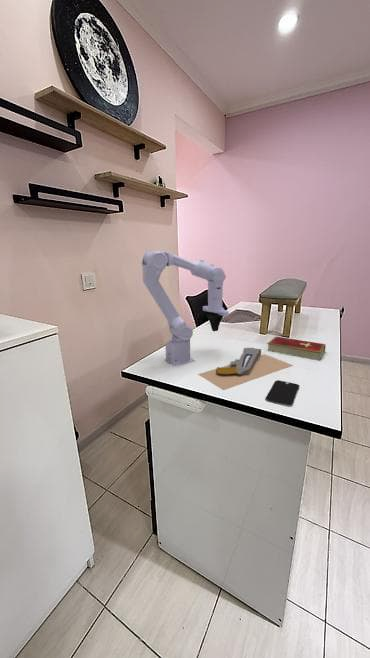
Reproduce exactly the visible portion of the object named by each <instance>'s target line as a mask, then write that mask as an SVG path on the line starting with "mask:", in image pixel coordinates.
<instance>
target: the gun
mask: <svg viewBox="0 0 370 658" xmlns="http://www.w3.org/2000/svg"><path fill="white" fill-rule="evenodd" d="M260 355H262V349H260V348H256V347H244V348H243V350H242V354H241V355H240V357H239V359H238V358H237V359H235V360H232V361H230V362H229V364H228V365H229V367H226V368H221V367H222V366H220V367H219V366H217V367H216V368H215V369H216V373H217V374H240V375H243V374H246V375H249V374H250V372H251V370H252V368H253V367H254V365H255V363H256V361H257V360H258V359H259V356H260Z"/></svg>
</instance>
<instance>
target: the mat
mask: <svg viewBox="0 0 370 658" xmlns="http://www.w3.org/2000/svg"><path fill="white" fill-rule="evenodd" d="M229 365H230V364H227V365H224V366H220V367H221V368H226V367H229ZM293 366H294V365H293V364H291V363H288V362H286V361H283V360H281V359H278V358H275V357H272V356H269V355H267V354H265V353H264V354H261V355H260V356H259V359H258V360H257V361H256V363H255V365H254V367H253V368H252V370H251V372H250V374H249V375H246V374H243V375H240V374H217V373H216V369H217V368H213V369H211V370H207V371H204V372H200V373H198V374H197V375H198V376H200V377H201V378H204V379H205V380H206V381H208V382H210V383H211V384H213V385H214V386H216V387H218V388H219V389H220V390H223V391H225V390H228V389H231V388H233V387H236V386H240V385H242V384H245V383H247V382H250V381H254V380H256V379H260V378H261V377H265V376H267V375H271V374H273V373H275V372H279V371H281V370H284V369H287V368H290V367H293Z"/></svg>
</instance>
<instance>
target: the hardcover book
mask: <svg viewBox="0 0 370 658" xmlns="http://www.w3.org/2000/svg"><path fill="white" fill-rule="evenodd" d="M266 344H267V345H268V347H267V350H268V352H273V353H279V354H284V355H287V356H289V355H290V356H294V357H299V358H304V359H310V360H314V361H319V360H320V359H321V357H322V355H323V354H324V353H325V352H326V344H325V343H321V342H314V341H308V340H307V341H306V340H303V339H301V340H300V339H296V338H295V339H294V338H288V337H283V336H277V335H276V336H275V337H273V338H272V339H271V340H269V341H268V342H267V343H266Z"/></svg>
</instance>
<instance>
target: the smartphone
mask: <svg viewBox="0 0 370 658" xmlns="http://www.w3.org/2000/svg"><path fill="white" fill-rule="evenodd" d="M299 389H300V385H299V384H297V383H293V382H289V381H284V380H280V379H279V380H275V381H274V383H273V385H272V386H271V388H270V389H269V390H268V393H267V394H266V396H265V399H264V400H265V401H266V402H267V403H272V404H275V405H280V406H282V407H283V406H284V407H288V408H290V407H293V405H294V403H295V401H296V397H297V396H298V395H297V394H298V391H299Z"/></svg>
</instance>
